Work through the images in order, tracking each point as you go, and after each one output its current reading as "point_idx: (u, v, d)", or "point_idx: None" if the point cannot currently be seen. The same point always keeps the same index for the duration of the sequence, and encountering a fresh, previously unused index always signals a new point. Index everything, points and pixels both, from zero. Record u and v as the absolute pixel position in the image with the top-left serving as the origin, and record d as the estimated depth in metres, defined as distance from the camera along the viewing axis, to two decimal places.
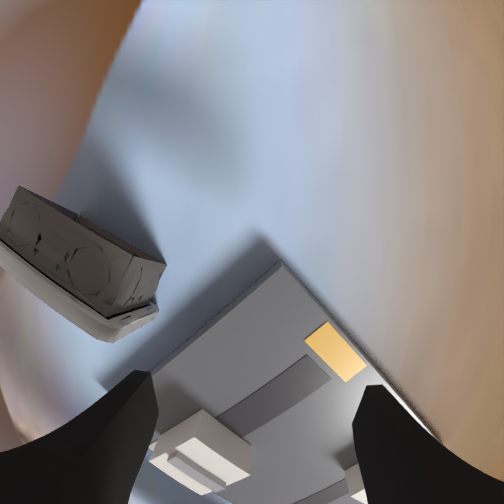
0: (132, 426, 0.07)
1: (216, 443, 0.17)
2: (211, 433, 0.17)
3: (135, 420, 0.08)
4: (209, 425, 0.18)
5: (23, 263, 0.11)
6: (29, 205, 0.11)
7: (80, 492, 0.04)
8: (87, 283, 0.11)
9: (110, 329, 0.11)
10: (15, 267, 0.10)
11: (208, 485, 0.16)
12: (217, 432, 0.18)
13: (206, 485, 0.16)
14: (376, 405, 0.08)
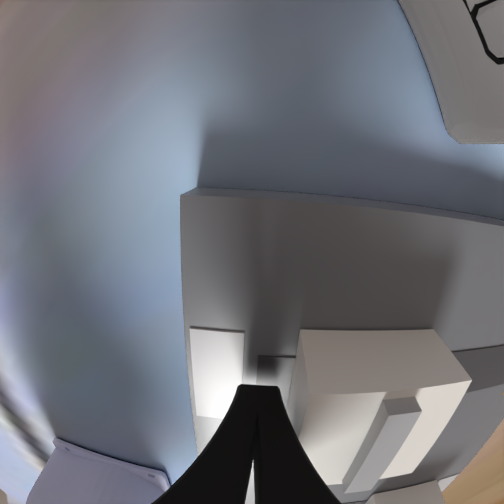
0: (253, 444, 0.07)
1: None
2: None
3: (254, 437, 0.07)
4: None
5: None
6: None
7: None
8: None
9: None
10: None
11: (361, 480, 0.07)
12: None
13: (357, 479, 0.07)
14: (257, 407, 0.08)
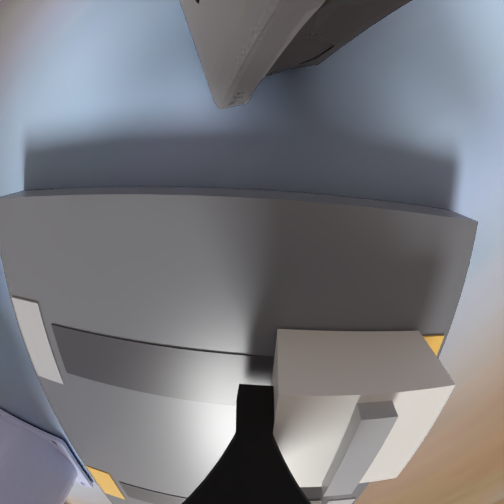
0: None
1: None
2: None
3: None
4: None
5: None
6: None
7: None
8: None
9: None
10: None
11: (339, 484, 0.07)
12: None
13: (335, 483, 0.07)
14: (236, 405, 0.08)
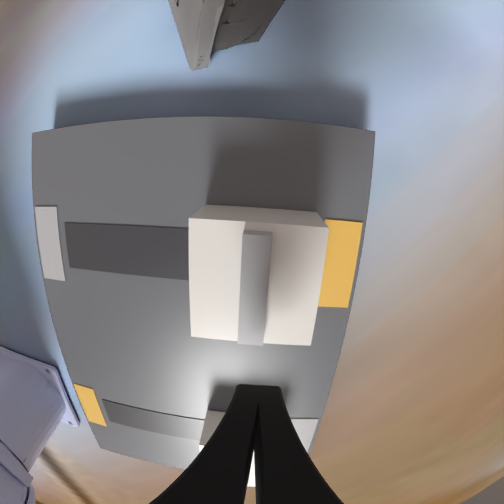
0: (252, 444, 0.07)
1: None
2: None
3: (253, 437, 0.07)
4: None
5: None
6: None
7: None
8: None
9: None
10: None
11: (246, 324, 0.11)
12: None
13: (243, 322, 0.11)
14: (258, 407, 0.08)
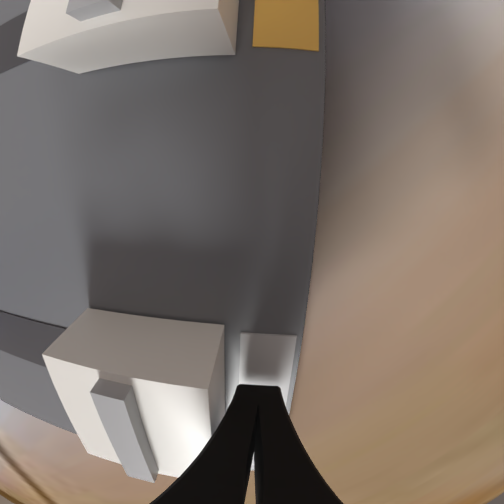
0: (252, 444, 0.07)
1: None
2: None
3: (253, 437, 0.07)
4: None
5: None
6: None
7: None
8: None
9: None
10: None
11: None
12: None
13: None
14: (258, 407, 0.08)
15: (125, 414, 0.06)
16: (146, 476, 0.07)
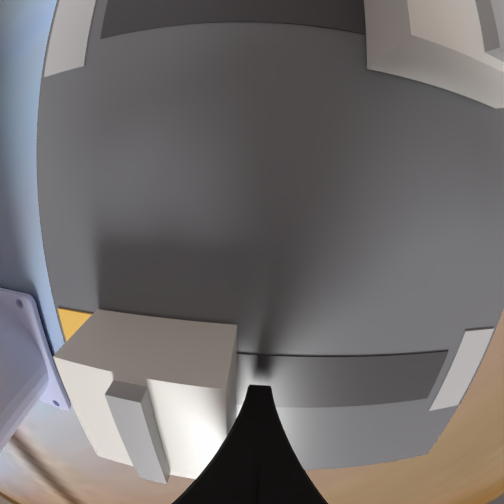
0: None
1: None
2: None
3: None
4: None
5: None
6: None
7: None
8: None
9: None
10: None
11: (503, 17, 0.03)
12: None
13: (498, 12, 0.03)
14: None
15: (140, 416, 0.06)
16: (158, 477, 0.08)
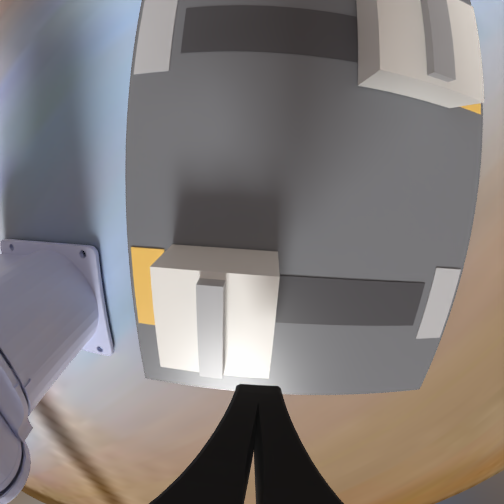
0: (252, 444, 0.07)
1: None
2: None
3: (253, 437, 0.07)
4: None
5: None
6: None
7: None
8: None
9: None
10: None
11: (440, 52, 0.08)
12: None
13: (437, 49, 0.08)
14: (258, 407, 0.08)
15: (220, 300, 0.11)
16: (217, 371, 0.12)
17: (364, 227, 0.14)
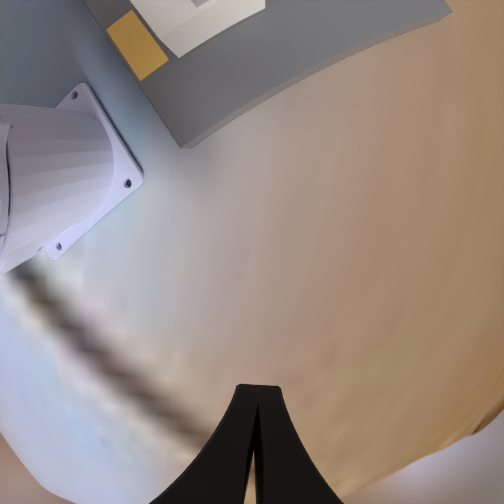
0: (252, 443, 0.07)
1: None
2: None
3: (253, 437, 0.07)
4: None
5: None
6: None
7: None
8: None
9: None
10: None
11: None
12: None
13: None
14: (258, 406, 0.08)
15: None
16: None
17: None
